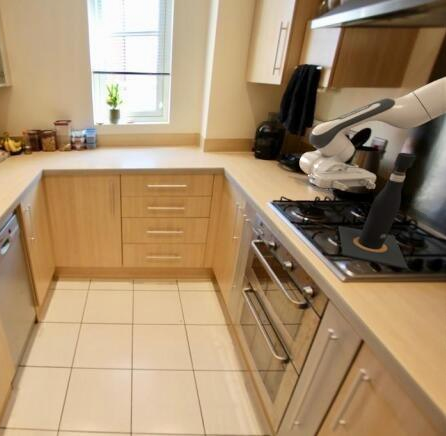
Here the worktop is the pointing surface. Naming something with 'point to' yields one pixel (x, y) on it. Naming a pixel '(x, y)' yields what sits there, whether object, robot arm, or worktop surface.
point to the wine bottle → (385, 205)
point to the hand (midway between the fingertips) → (359, 187)
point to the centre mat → (385, 255)
